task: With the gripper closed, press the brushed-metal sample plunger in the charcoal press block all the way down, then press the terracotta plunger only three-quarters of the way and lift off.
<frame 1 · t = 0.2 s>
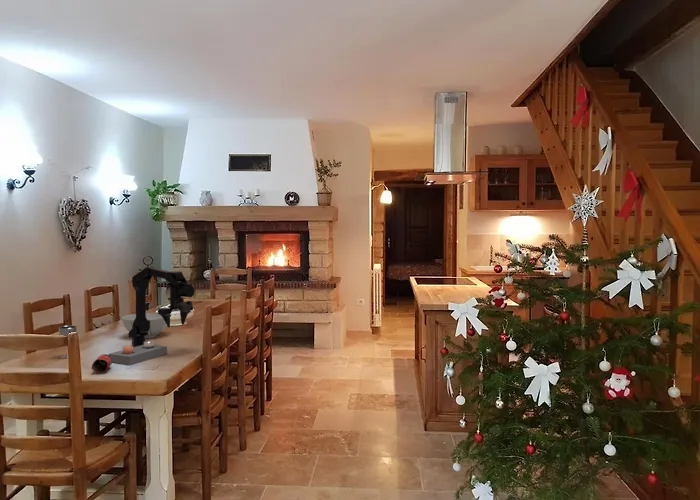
hand: (175, 325, 276), 14 cm above the table, fingers open, 9 cm apart
wine glass: (68, 357, 269), on the table
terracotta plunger: (128, 350, 260), point 5 cm above the table, slide at 0.0 cm
beverage can: (102, 371, 243), on the table
decorative bowl: (146, 336, 319), on the table
press block: (138, 357, 266), on the table
sample plunger: (148, 345, 272), point 5 cm above the table, slide at 0.0 cm
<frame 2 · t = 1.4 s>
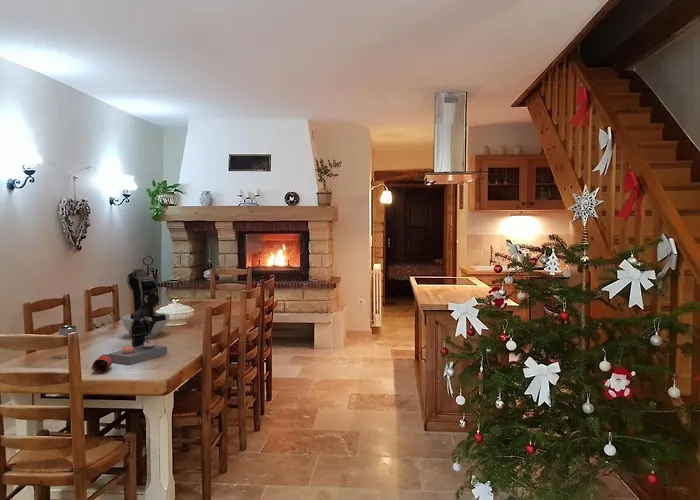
hand: (148, 333, 271), 11 cm above the table, fingers closed
nothing on the table moved.
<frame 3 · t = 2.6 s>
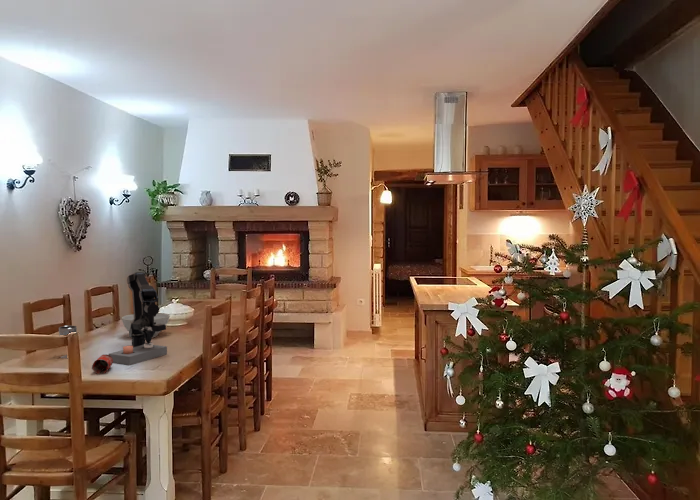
hand: (148, 343, 272), 6 cm above the table, fingers closed, pressing on sample plunger
sample plunger: (148, 347, 272), point 4 cm above the table, slide at 1.0 cm, touching gripper
everything else where it was.
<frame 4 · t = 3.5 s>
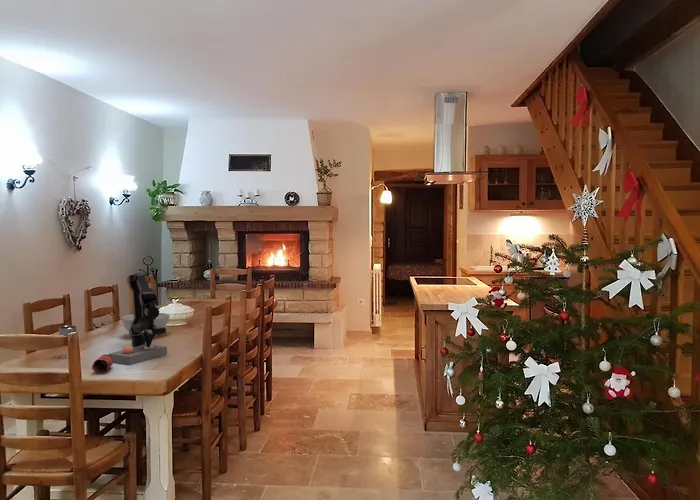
hand: (148, 346, 272), 5 cm above the table, fingers closed
sample plunger: (148, 350, 272), point 3 cm above the table, slide at 2.5 cm
everything else where it was.
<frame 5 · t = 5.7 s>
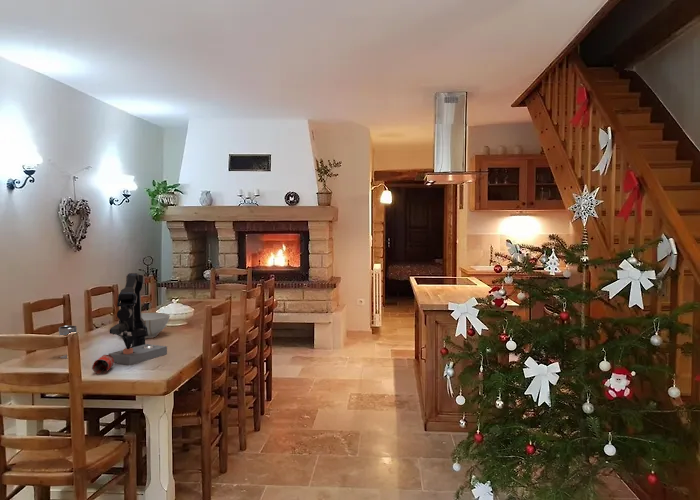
hand: (128, 348, 260), 6 cm above the table, fingers closed, pressing on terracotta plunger
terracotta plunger: (128, 353, 260), point 4 cm above the table, slide at 1.1 cm, touching gripper
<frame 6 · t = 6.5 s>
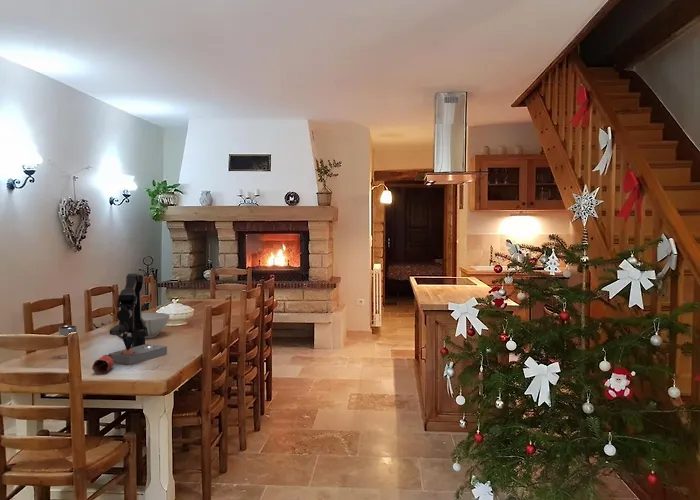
hand: (128, 349, 260), 5 cm above the table, fingers closed
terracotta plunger: (128, 354, 260), point 3 cm above the table, slide at 1.7 cm
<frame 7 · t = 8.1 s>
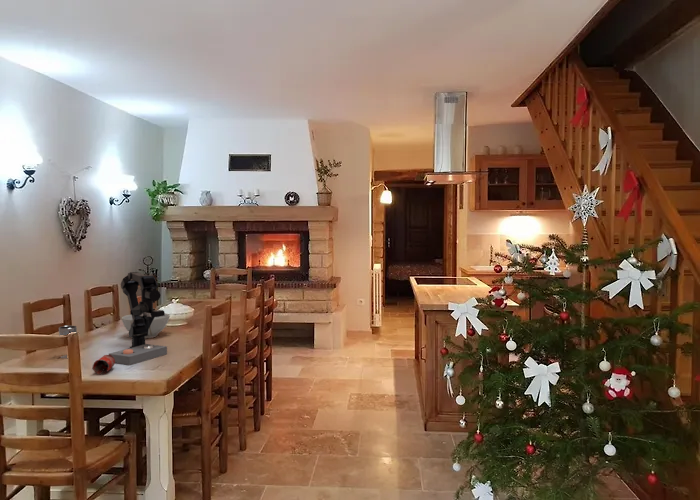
hand: (147, 328, 279), 12 cm above the table, fingers closed
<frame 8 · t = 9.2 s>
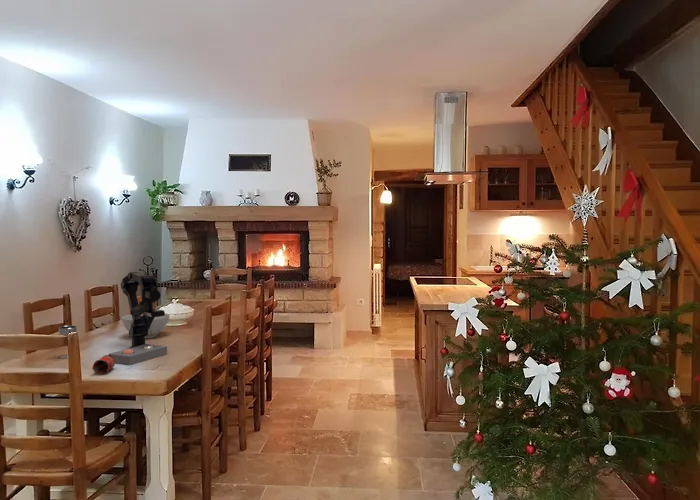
hand: (147, 328, 279), 12 cm above the table, fingers closed
at the end: sample plunger slide at 2.5 cm; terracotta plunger slide at 1.7 cm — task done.
